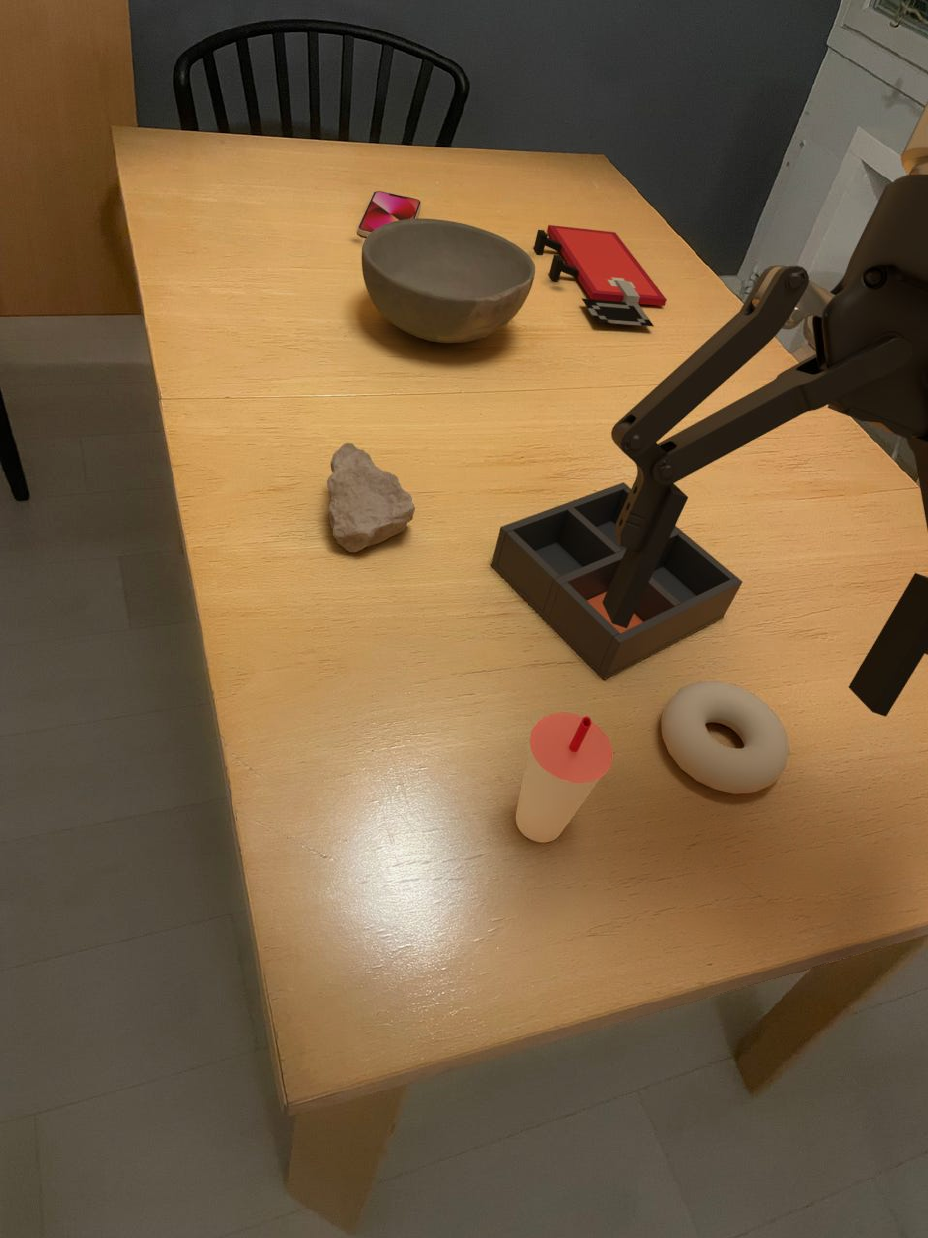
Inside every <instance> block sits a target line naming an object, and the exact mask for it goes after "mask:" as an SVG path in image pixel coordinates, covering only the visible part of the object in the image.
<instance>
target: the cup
mask: <svg viewBox="0 0 928 1238" xmlns="http://www.w3.org/2000/svg"><path fill="white" fill-rule="evenodd" d="M613 751H614V750H613V745H612V743H611V741H610V739H609V738H608V736H607V735H606V733H605V731H603V730H602V729H601V727H600V726H598V725H597V724H595V723H594V722H593V721H592V719H591V717H589V716H582V715H579V714H575V713H571V712H556V713H551V714H548V715H546V716H544V717H542V718H541V719H539V720H538V721H537V722H536V723H535V724H534V726H533V727H532V729H531V732H530V735H529V748H528V754H527V758H526V763H525V768H524V772H523V777H522V781H521V786H520V791H519V796H518V801H517V807H516V812H515V823H516V826H517V828H518V830H519V831H520V832H521V834H522V835H523V836H525V837H526V838H528V840H530V841H533V842H536V843H543V844H545V843H549V842H552V841H555V840H556V839H558V837H560V835H561V834H562V833H563V831H564V829H565V828H566V827H567V825H568V824H569V823H570V822H571V820H572V819H573V818H574V817H575V815H576V814H577V812H578V810H579V809H580V808H581V806H582V805H583V804H584V802H585V801H586V800H587V798H588V797H589V795H590V794H591V792H592V791H593V789H594V788H595V786H596V785H597V784H598V782H599V781H600V780H601V778H603V777H604V776H605V775H606V774H607V773H608V771H609V770H610V769H611V767H612V764H613V759H614V752H613Z"/></svg>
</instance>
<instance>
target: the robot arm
mask: <svg viewBox="0 0 928 1238" xmlns="http://www.w3.org/2000/svg"><path fill="white" fill-rule="evenodd" d="M900 162H901V166H902V168H903V169H904V171H905V173H906V175H902V176H900V177H897V178H895V179H894V180H893V181H892V182H890V183H888V184H886V185H885V186H884V189H883V190H882V192H881V195H880V197H879V199H878V201H877V202H876V205H875V207H874V209H873V211H872V214H871V215H870V217H869V219H868V222H866V226H865V228H864V230H863V231H862V234H861V235H860V238H859V239H858V241H857V243H856V246H855V248H854V250H853V252H852V254H851V256H850V259H849V261H848V263H847V267H846V270H845V272H844V274H843V276H842V277H841V279H840V280H839V282H838V283H836V285H835V286H834V287H833V288H832V289H831V290H830V291H829V290H827V289H826V288H824V287H823V286H821V285H819V284H817V283H815V282H814V281H812V280H810V276H809V273H808V271H807V270H806V269H805V268H804V267H803V266H800V265H770V266H769V267H767V268H765V269H764V270H763V271H762V273H760V275H759V277H758V279H757V281H756V282H755V284H754V285H753V287H752V289H751V291H750V293H749V294H748V295H747V298H746V299H745V301H744V303H743V304H742V306H741V308H740V310H739V311H738V312H737V313H735V314H734V316H732V318H730V319H729V320H728V321H727V322H726V323H725V324H724V325H723V326H722V327H720V328H719V329H718V330H717V331H716V332H715V333H714V334H712V336H711V337H709V338H708V339H707V340H706V341H705V342H703V344H702V345H701V346H700V347H698V348H697V349H696V350H695V351H694V352H693V353H692V354H690V355H689V357H688V358H686V359H685V360H684V361H683V362H682V363H680V365H679V366H678V367H677V368H676V369H674V370H673V371H672V372H671V373H670V374H669V375H668V376H666V377H665V378H664V379H663V380H662V381H661V382H659V384H657V386H655V387H654V388H653V389H652V390H651V391H650V392H649V393H648V394H646V396H644V397H643V398H642V399H641V400H640V401H639V402H638V403H637V404H635V406H633V407H632V408H631V409H629V411H628V412H627V413H625V415H623V417H621V418H620V419H619V420H618V421H617V422H616V423H615V424H614V425H613V427H612V429H611V432H610V436H611V440H612V441H613V443H614V444H615V445H616V446H617V447H618V449H619V450H620V451H621V452H622V453H623V454H625V455H626V456H627V457H628V458H629V459H630V460H632V461H633V463H634V464H635V466H636V476H635V479H634V482H633V483H632V485H631V487H630V488H631V491H630V493H629V495H628V497H627V500H626V502H625V504H624V507H623V509H622V511H621V514H620V515H619V518H618V520H617V522H616V525H615V538H616V540H617V541H618V543H619V544H620V546H623V547H626V548H627V549H626V551H625V553H624V555H623V558H622V560H621V562H620V564H619V566H618V569H617V571H616V573H615V575H614V577H613V580H612V582H611V584H610V586H609V588H608V591H607V593H606V595H605V597H604V600H603V602H602V603H603V605H604V607H605V609H606V612H607V614H608V616H609V618H610V620H611V622H612V623H613V624H615V625H618V626H621V627H624V628H627V627H628V625H629V623H630V621H631V619H632V617H633V615H634V612H635V610H636V608H637V606H638V604H639V602H640V600H641V597H642V595H643V593H644V591H645V589H646V587H647V585H648V582H649V580H650V578H651V576H652V574H653V572H654V570H655V568H656V565H657V563H658V561H659V559H660V557H661V555H662V553H663V550H664V548H665V546H666V544H667V542H668V540H669V538H670V536H671V533H672V531H673V529H674V527H675V526H677V523H678V521H679V518H680V516H681V514H682V512H683V510H684V507H685V506H686V504H687V501H688V499H689V496H688V495H687V494H686V493H685V492H684V491H682V490H681V489H680V488H679V486H677V485H676V484H675V483H677V482H679V481H681V480H682V479H684V478H686V477H688V476H690V475H692V474H694V473H696V472H698V471H699V470H701V469H703V468H705V467H707V466H708V465H711V464H712V463H714V462H716V461H718V460H720V459H721V458H723V457H726V456H727V455H729V454H730V453H732V452H734V451H736V450H738V449H740V448H743V447H744V446H746V445H747V444H750V443H751V442H753V441H755V440H757V439H758V438H760V437H762V436H764V435H766V434H767V433H770V432H771V431H773V430H775V429H777V428H779V427H781V426H783V425H784V424H787V423H788V422H790V421H792V420H794V419H796V418H797V417H799V416H801V415H803V414H805V413H808V412H813V411H817V410H820V409H822V408H824V407H826V406H827V409H829V410H832V411H835V412H837V413H839V414H842V415H844V416H848V417H851V418H853V419H855V420H858V421H861V422H867V423H869V424H870V425H871V426H873V427H874V428H877V429H880V430H882V431H885V432H888V433H891V434H893V435H896V436H898V437H901V438H904V439H906V443H907V445H908V448H909V449H910V450H911V452H912V453H913V455H914V460H915V461H914V462H915V466H916V472H917V478H918V484H919V490H920V495H921V502H922V507H923V512H924V517H925V524H926V531H928V101H927V102H926V103H925V106H924V108H923V110H922V112H921V114H920V116H919V118H918V120H917V122H916V124H915V126H914V128H913V131H912V133H911V134H910V137H909V138H908V141H907V143H906V144H905V147H904V149H903V151H902V153H901V155H900ZM809 317H811V328H812V336H813V344H814V352H815V353H814V354H812V355H811V356H809V357H807V358H806V359H803V360H801V361H800V362H798V363H797V364H795V365H792V366H791V367H789V368H786V369H785V370H784V371H782V372H780V373H779V374H778V375H777V376H776V377H775V379H773V380H772V381H770V382H768V383H766V384H764V385H762V386H761V387H759V388H757V389H755V390H753V391H751V392H750V393H747V394H746V395H745V396H743V397H741V398H739V399H737V400H735V401H734V402H732V403H729V404H728V405H726V406H724V407H723V408H721V409H719V410H717V411H715V412H714V413H712V414H710V415H708V416H706V417H704V418H703V419H701V420H699V421H697V422H695V423H693V424H691V425H690V426H688V427H686V428H684V429H683V430H681V431H679V432H677V433H675V434H673V435H671V436H669V437H668V438H666V439H664V440H662V441H661V442H659V441H660V440H661V439H663V438H664V437H665V436H666V435H667V434H668V433H669V432H670V431H671V430H672V429H673V428H675V427H676V426H677V425H678V424H679V423H680V422H681V421H683V419H685V418H686V417H688V415H690V413H692V412H693V411H694V410H695V409H696V408H697V407H698V406H699V405H700V404H702V403H703V402H704V401H705V400H707V399H708V398H709V397H710V396H711V395H712V394H713V393H714V392H715V391H717V390H718V389H719V388H720V387H721V386H722V385H723V384H724V383H726V382H727V381H728V380H729V379H730V378H731V377H732V376H733V375H735V373H737V371H739V370H740V369H741V368H743V367H744V366H745V365H746V364H747V363H748V362H749V361H750V360H751V359H752V358H754V357H755V356H756V355H757V354H758V353H760V352H761V351H762V350H763V349H764V348H765V347H766V346H767V345H768V344H769V343H770V342H772V340H773V339H774V338H775V337H776V336H777V335H778V334H779V332H780V331H781V330H793V329H795V328H797V327H799V325H800V324H801V323H802V322H803V321H804V320H805V319H807V318H809ZM658 442H659V443H658ZM924 655H927V656H928V576H926V575H923V574H921V573H917V572H914V574H913V576H911V579H910V581H909V583H908V584H907V586H906V587H905V589H904V591H903V593H902V594H901V596H900V598H899V600H898V601H897V603H896V605H895V606H894V608H893V609H892V612H891V613H890V614H889V617H888V618H887V620H886V621H885V623H884V625H883V627H882V628H881V630H880V632H879V634H878V636H877V637H876V638H875V641H874V643H873V644H872V646H871V647H870V649H869V651H868V653H867V654H866V656H865V658H864V660H863V661H862V662H861V664H860V666H859V668H858V670H857V671H856V673H855V675H854V676H853V678H852V680H851V682H850V683H849V685H848V689H849V690H850V691H851V692H852V693H853V694H854V695H855V696H856V697H857V698H858V699H859V700H860V701H861V702H862V703H863V704H864V705H865V706H866V707H867V708H868V710H870V712H871V713H873V714H877V715H880V716H882V717H885V718H886V717H887V716H888V714H889V713H890V711H891V710H892V708H893V706H894V705H895V703H896V701H897V700H898V698H899V696H901V695H900V694H901V693H902V691H903V690H904V688H905V687H906V684H907V683H908V682H909V680H910V678H911V677H912V675H913V673H914V672H915V670H916V669H917V667H918V665H919V664H920V662H921V660H922V659H923V657H924Z"/></svg>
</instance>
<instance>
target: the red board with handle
mask: <svg viewBox="0 0 928 1238" xmlns="http://www.w3.org/2000/svg"><path fill="white" fill-rule="evenodd" d="M548 235H549V237H550V238H549V237H548ZM545 247H547V248H549V249H552V250H554V251H557V252H559V253H560V254H554V255H553V257H552V260H551V264H550V268H549V272H548V276H549V277H550V278H551V280H552V281H557V282H558V281H560V277H561V274H562V273H564V274H566V275H569V276H571V277H574V278H575V279H576V278H577V280H578V282H579V283H580V285H581V286H582V288H583V289H584V291H585V292H586V294H587V296H588V297H589V298H583V297H582V298H581V300H582V302H583V303H584V305H585V307H586V309H587V310H588V312H589V313H590V314H591V316H592V318H593V320H594V321H595V322H596V323H603V324H605V323H606V324H615V325H616V324H617V325H619V324H620V325H630V326H640V327H641V326H642V327H655V325H654V324H653V322H652V321H651V320H650V318H649V317H648V315H647V314H646V313H645V312H644V310H643V308H642V307H641V305H650V306H659V307H665V306H666V304H667V300H668V299H667V297H666V296H665V295H664V294H663V292H661V290H660V288H659V287H658V286H657V285H656V284H655V282H654V281H653V280H652V278H651V276H649V275H648V273H647V272H646V271H645V269H644V268H643V266H642V265H641V264H640V263H639V261H638V260H637V258H636V257H635V256H634V255H633V253H632V252H631V251H630V249H629V248H628V247H627V246H626V244H625V243H624V242H623V240H622V239H621V238H620V236H619V235H618V234H617V233H616V232H615V231H607V230H599V229H589V228H580V227H572V226H571V227H570V226H564V225H563V226H561V225H553V224H548V226H547V228H546V231H545V230H544V229H537V233H536V236H535V241H534V245H533V250H534V252H535V253H536V255H541V256H542V255H544V253H545ZM561 255H562V256H561ZM562 257H563V258H564V259H563V258H562ZM564 260H565V261H566V262H564Z"/></svg>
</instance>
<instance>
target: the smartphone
mask: <svg viewBox="0 0 928 1238" xmlns="http://www.w3.org/2000/svg"><path fill="white" fill-rule="evenodd" d="M421 207H422V202H421V200H419V199H418V198H414V197H410V196H404V195H400V194H396V193H391V192H385V191H381V190H377V191H373V193H372V195H371V198H370V199H369V202H368V204H367V206H366V208H365V210H364V212H363V214H362V216H361V219H360V221H359V223H358V226H357V234H358V235H360V236H362V237H365V238H367V236H368V235H369V234H370V233H371V232H373V231H374V230H375V229H377V228H378V227H380V226H382V225H385V224H387V223H391V222H394V221H399V220H406V219H416V218H418V217H419V213H420V210H421Z"/></svg>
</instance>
